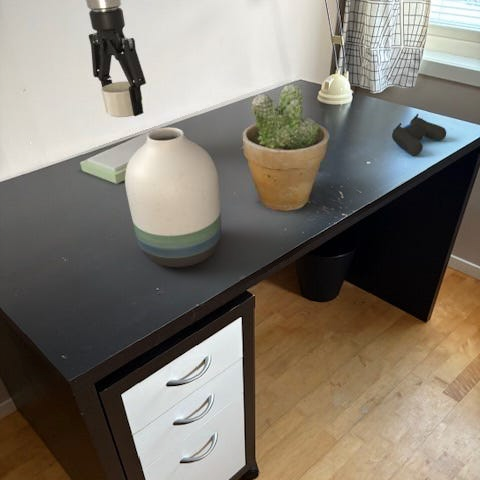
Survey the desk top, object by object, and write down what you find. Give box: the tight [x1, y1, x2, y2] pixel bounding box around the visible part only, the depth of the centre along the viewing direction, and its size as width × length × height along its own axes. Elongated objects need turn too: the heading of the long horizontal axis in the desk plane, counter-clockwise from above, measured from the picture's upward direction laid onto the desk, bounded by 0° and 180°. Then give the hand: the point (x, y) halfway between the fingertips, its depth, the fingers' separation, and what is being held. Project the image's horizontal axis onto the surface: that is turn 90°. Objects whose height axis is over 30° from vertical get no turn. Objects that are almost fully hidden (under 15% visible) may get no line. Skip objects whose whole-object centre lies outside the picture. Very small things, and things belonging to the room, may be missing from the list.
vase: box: [124, 126, 222, 268], centre depth 89 cm, size 17×17×24 cm
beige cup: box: [100, 80, 144, 118], centre depth 121 cm, size 9×9×6 cm
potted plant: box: [242, 83, 330, 212], centre depth 104 cm, size 18×19×25 cm
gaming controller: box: [391, 113, 447, 157], centre depth 131 cm, size 17×6×10 cm
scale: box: [79, 130, 152, 185], centre depth 131 cm, size 14×26×3 cm, turn 142°
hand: (125, 110), depth 123 cm, fingers closed on beige cup, 9 cm apart
